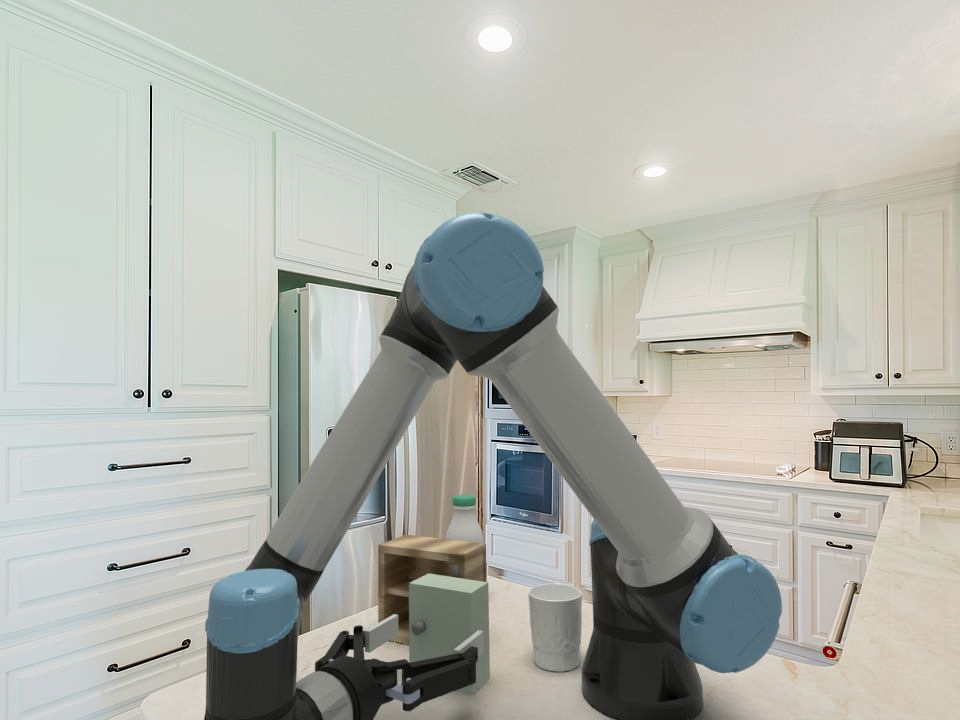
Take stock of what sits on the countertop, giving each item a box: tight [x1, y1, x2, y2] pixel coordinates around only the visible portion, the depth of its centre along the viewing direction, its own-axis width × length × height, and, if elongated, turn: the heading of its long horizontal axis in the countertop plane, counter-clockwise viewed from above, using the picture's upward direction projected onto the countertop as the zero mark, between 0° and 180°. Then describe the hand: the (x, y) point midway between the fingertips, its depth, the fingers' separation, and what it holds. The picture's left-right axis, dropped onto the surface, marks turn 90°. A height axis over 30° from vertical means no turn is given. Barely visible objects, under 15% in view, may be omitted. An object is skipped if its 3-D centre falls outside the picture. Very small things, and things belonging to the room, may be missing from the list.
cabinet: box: [377, 534, 488, 646], centre depth 91 cm, size 16×9×15 cm, turn 62°
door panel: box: [408, 573, 491, 697], centre depth 77 cm, size 10×6×13 cm, turn 62°
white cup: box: [527, 582, 583, 673], centre depth 82 cm, size 8×8×10 cm
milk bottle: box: [445, 494, 485, 544], centre depth 109 cm, size 8×8×20 cm
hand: (437, 632), depth 76 cm, fingers open, 13 cm apart
